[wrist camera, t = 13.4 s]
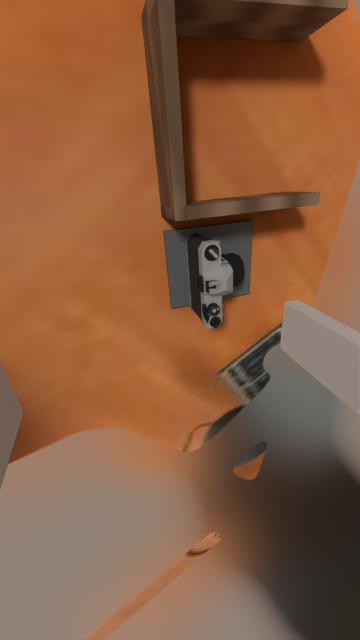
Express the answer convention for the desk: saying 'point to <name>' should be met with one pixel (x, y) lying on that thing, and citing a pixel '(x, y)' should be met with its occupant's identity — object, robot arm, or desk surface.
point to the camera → (211, 277)
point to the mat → (231, 241)
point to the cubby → (163, 79)
